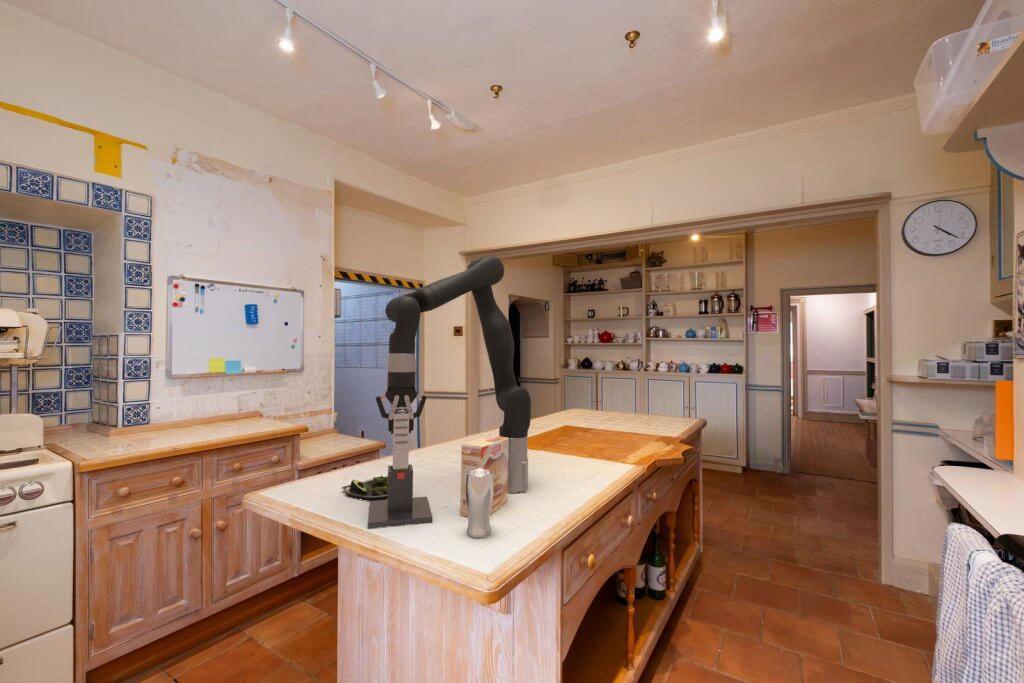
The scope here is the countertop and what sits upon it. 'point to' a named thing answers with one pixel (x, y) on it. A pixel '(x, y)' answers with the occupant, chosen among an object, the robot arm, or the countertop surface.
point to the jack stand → (399, 503)
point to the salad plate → (368, 489)
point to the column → (401, 439)
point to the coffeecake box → (486, 467)
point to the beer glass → (479, 502)
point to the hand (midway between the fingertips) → (400, 432)
